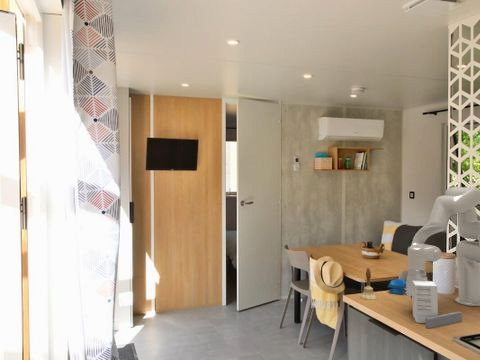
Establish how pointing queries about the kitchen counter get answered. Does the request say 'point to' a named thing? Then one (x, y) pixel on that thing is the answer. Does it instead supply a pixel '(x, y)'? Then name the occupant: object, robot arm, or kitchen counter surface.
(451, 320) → the gray rectangular bar
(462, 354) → the kitchen counter surface
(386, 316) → the kitchen counter surface
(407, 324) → the kitchen counter surface
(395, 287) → the crystal
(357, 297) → the kitchen counter surface
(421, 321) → the supplement box
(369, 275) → the hand bell
